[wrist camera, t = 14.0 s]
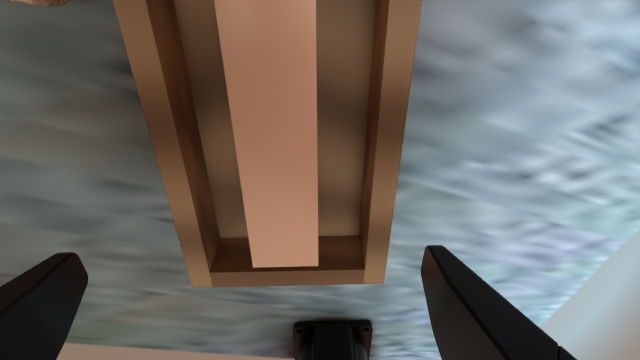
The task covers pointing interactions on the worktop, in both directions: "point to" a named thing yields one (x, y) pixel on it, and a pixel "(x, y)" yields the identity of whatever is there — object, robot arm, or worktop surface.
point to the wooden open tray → (332, 135)
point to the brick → (43, 2)
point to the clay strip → (274, 123)
